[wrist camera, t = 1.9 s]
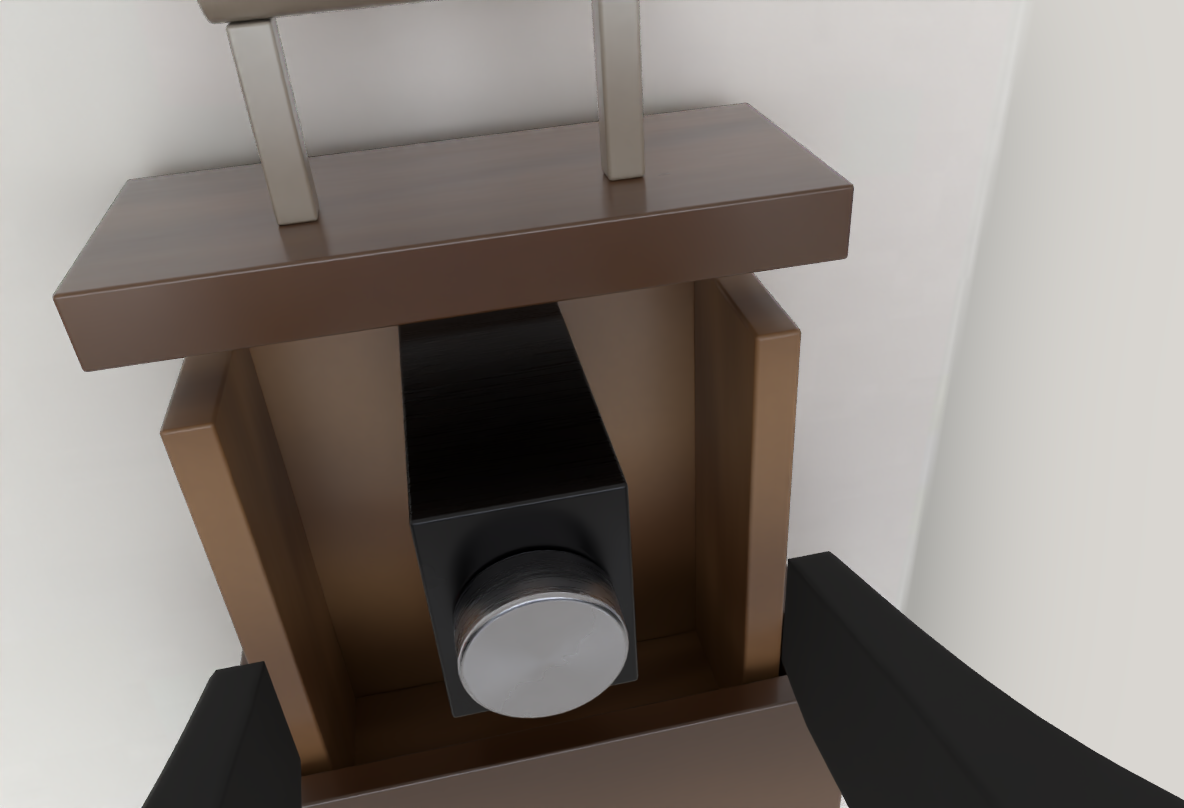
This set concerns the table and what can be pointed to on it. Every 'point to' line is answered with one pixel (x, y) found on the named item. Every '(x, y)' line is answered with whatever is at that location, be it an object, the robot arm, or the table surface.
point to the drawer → (450, 289)
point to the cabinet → (612, 760)
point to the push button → (516, 514)
